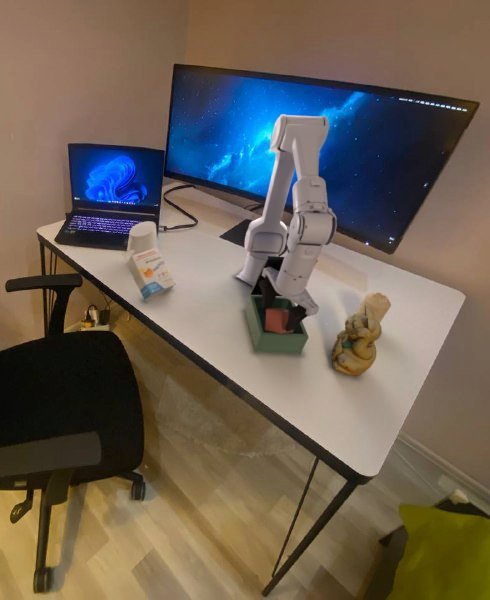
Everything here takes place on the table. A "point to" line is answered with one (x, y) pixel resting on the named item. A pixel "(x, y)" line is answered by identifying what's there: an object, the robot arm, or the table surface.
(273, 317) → the red block
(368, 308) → the decorative figurine
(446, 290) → the table surface
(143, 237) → the smart speaker
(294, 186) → the robot arm
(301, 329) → the green open box
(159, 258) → the ink box
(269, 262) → the black square lid
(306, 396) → the table surface
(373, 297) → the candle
